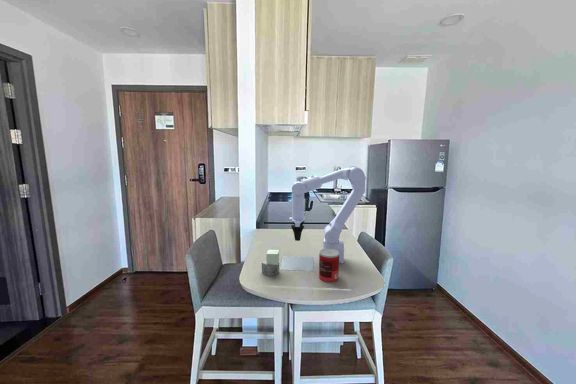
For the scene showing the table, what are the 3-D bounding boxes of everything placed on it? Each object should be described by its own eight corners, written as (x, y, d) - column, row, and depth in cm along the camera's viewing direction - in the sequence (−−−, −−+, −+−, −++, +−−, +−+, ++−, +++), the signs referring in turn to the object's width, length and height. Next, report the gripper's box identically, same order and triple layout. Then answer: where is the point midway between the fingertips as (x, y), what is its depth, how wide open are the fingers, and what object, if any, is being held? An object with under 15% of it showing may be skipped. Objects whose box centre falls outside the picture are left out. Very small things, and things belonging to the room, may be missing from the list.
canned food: (336, 273, 111) (337, 248, 109) (340, 283, 103) (341, 256, 101) (317, 274, 110) (318, 248, 109) (320, 283, 102) (321, 256, 101)
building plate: (312, 258, 126) (312, 257, 126) (313, 272, 112) (313, 270, 112) (282, 257, 127) (282, 256, 127) (279, 270, 113) (279, 269, 113)
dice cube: (261, 274, 110) (261, 262, 110) (271, 270, 114) (270, 258, 113) (269, 278, 107) (269, 266, 106) (279, 274, 110) (279, 262, 110)
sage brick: (278, 260, 112) (278, 249, 111) (277, 264, 107) (277, 254, 107) (268, 259, 112) (268, 249, 111) (266, 264, 108) (266, 253, 107)
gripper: (290, 204, 129) (290, 232, 131) (288, 212, 115) (287, 242, 117) (305, 205, 128) (304, 232, 130) (304, 212, 114) (304, 243, 116)
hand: (297, 237), depth 124 cm, fingers open, 7 cm apart
